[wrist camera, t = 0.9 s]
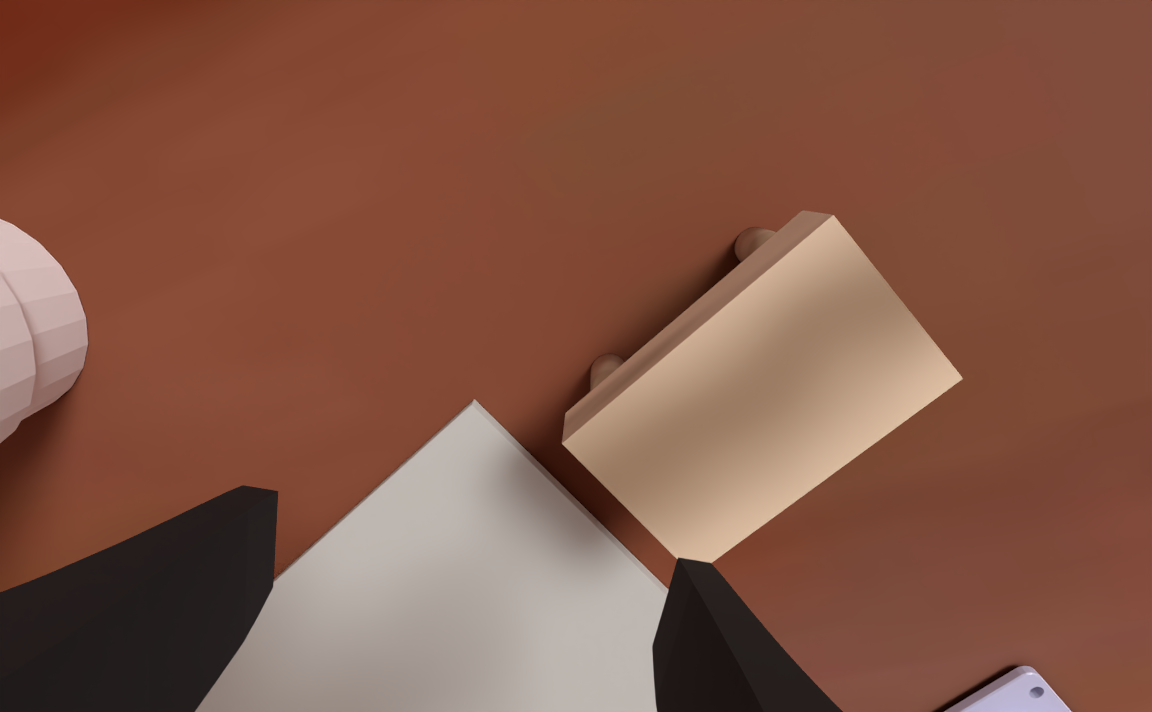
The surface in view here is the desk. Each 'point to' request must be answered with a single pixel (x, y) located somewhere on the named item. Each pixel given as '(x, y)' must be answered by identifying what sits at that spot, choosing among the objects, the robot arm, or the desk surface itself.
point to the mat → (455, 598)
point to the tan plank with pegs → (756, 389)
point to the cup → (35, 329)
